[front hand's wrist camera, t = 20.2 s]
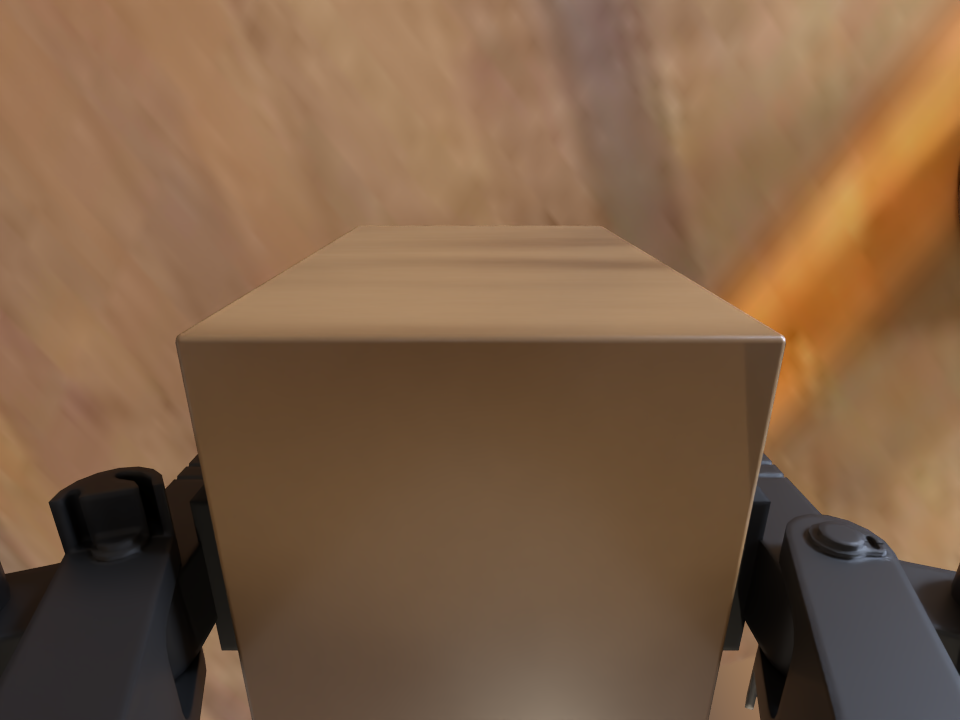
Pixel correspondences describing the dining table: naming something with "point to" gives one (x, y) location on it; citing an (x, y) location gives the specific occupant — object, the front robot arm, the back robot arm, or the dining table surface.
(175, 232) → the dining table surface
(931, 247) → the dining table surface
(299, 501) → the block
